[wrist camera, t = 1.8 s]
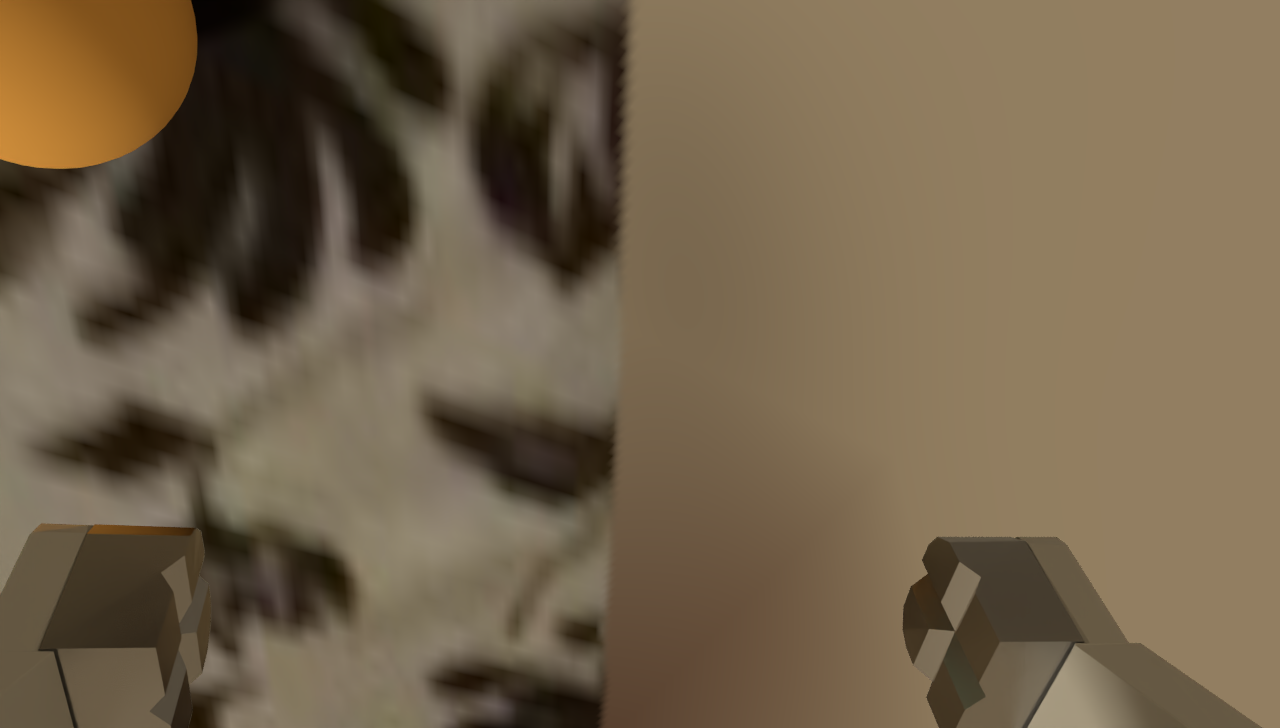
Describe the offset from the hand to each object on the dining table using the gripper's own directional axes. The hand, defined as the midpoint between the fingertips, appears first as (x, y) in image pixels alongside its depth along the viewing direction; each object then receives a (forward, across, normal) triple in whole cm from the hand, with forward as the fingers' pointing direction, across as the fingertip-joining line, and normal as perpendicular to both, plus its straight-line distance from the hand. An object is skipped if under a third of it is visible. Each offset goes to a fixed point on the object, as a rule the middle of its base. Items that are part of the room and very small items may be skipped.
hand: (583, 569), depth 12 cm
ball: (+14, +10, 0) cm, 17 cm away
